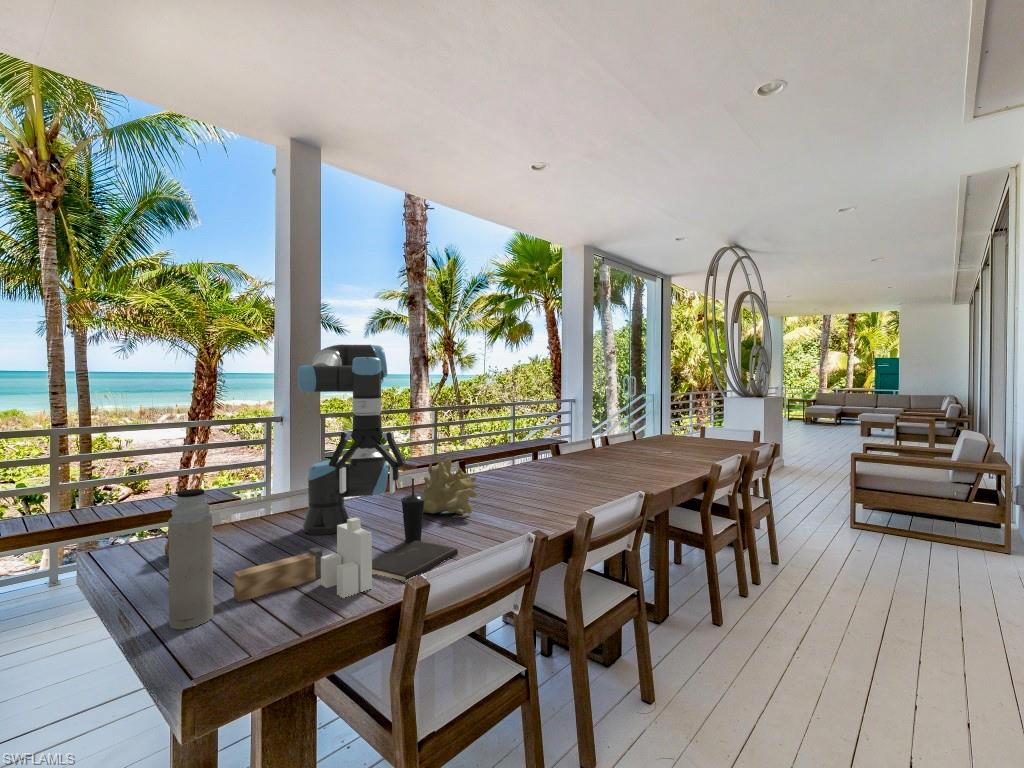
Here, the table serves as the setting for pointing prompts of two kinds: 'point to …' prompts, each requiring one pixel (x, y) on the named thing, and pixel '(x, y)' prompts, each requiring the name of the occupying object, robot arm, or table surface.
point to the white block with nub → (349, 560)
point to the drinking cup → (413, 515)
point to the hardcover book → (411, 559)
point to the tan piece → (277, 575)
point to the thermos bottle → (190, 561)
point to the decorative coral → (448, 489)
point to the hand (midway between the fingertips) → (367, 492)
